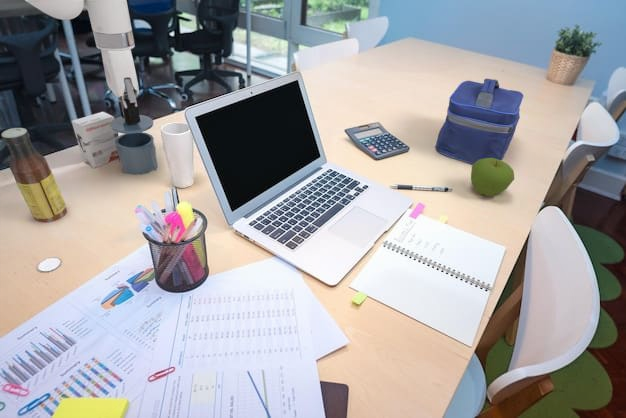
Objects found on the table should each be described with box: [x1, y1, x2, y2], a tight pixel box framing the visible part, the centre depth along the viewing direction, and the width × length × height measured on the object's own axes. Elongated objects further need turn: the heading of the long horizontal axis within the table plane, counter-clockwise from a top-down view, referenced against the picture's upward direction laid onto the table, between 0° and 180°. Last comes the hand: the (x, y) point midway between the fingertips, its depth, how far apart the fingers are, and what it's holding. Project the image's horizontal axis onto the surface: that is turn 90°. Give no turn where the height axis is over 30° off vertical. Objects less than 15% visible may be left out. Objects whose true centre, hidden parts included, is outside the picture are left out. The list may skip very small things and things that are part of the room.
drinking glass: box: [160, 121, 195, 189], centre depth 93 cm, size 7×7×15 cm
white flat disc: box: [36, 256, 63, 274], centre depth 72 cm, size 4×4×1 cm
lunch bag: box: [434, 78, 524, 165], centre depth 125 cm, size 31×21×20 cm
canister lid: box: [110, 97, 154, 134], centre depth 93 cm, size 10×10×7 cm
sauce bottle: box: [1, 127, 68, 223], centre depth 78 cm, size 6×6×20 cm
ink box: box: [71, 111, 120, 169], centre depth 100 cm, size 9×5×12 cm, turn 144°
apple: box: [470, 158, 515, 197], centre depth 104 cm, size 11×10×10 cm
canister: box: [115, 131, 159, 176], centre depth 99 cm, size 9×9×8 cm
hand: (131, 119), depth 94 cm, fingers closed on canister lid, 3 cm apart
